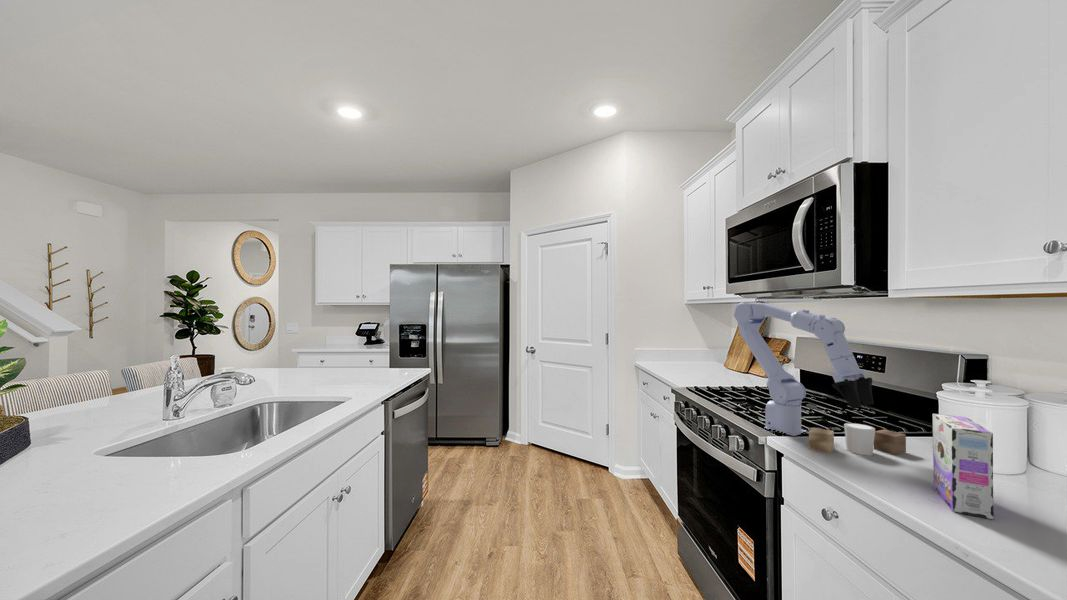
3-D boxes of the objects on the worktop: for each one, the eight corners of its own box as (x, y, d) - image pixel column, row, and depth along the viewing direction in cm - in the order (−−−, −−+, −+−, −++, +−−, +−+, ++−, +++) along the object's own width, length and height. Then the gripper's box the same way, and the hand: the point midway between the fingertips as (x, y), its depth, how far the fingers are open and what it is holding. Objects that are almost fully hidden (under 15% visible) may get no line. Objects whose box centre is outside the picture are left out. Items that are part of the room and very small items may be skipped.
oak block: (808, 449, 116) (808, 431, 116) (812, 444, 120) (812, 427, 120) (830, 453, 113) (830, 435, 113) (833, 448, 117) (833, 431, 117)
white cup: (882, 456, 111) (882, 429, 111) (856, 456, 111) (856, 429, 111) (862, 447, 118) (862, 422, 118) (837, 447, 118) (837, 422, 118)
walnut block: (873, 449, 116) (873, 431, 116) (884, 447, 118) (884, 429, 118) (894, 455, 112) (894, 436, 112) (905, 452, 114) (905, 434, 114)
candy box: (995, 521, 78) (994, 432, 78) (952, 512, 81) (951, 427, 81) (969, 492, 89) (968, 416, 89) (932, 486, 92) (931, 412, 93)
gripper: (844, 355, 112) (867, 406, 107) (868, 353, 119) (891, 401, 115) (818, 362, 117) (838, 411, 113) (842, 360, 125) (862, 406, 120)
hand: (863, 406), depth 114 cm, fingers open, 7 cm apart
